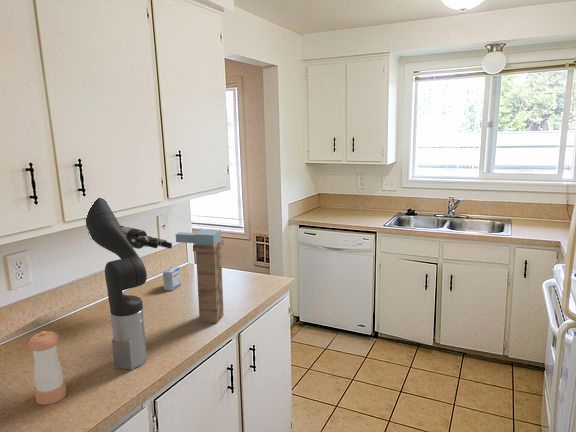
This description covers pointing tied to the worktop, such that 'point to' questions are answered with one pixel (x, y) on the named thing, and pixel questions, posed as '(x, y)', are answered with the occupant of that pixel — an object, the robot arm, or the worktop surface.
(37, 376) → the salt shaker
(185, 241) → the blue-grey stepped block
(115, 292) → the robot arm
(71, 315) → the worktop surface
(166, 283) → the medicine box
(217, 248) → the walnut stand
